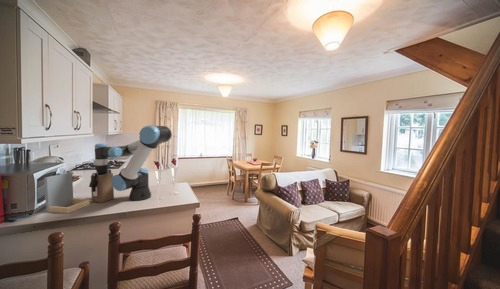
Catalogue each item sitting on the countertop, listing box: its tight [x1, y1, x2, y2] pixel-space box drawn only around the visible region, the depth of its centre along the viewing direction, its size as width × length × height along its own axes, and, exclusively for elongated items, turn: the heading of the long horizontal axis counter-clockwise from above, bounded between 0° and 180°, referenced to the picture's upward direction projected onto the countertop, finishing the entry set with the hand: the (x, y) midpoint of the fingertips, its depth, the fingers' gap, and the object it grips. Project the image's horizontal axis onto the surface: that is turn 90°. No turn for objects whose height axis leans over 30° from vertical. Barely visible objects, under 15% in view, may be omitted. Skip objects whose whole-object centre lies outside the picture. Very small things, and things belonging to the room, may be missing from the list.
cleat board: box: [43, 171, 91, 214], centre depth 135 cm, size 16×16×22 cm
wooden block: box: [90, 172, 115, 203], centre depth 150 cm, size 10×10×20 cm
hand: (102, 193), depth 150 cm, fingers open, 12 cm apart
